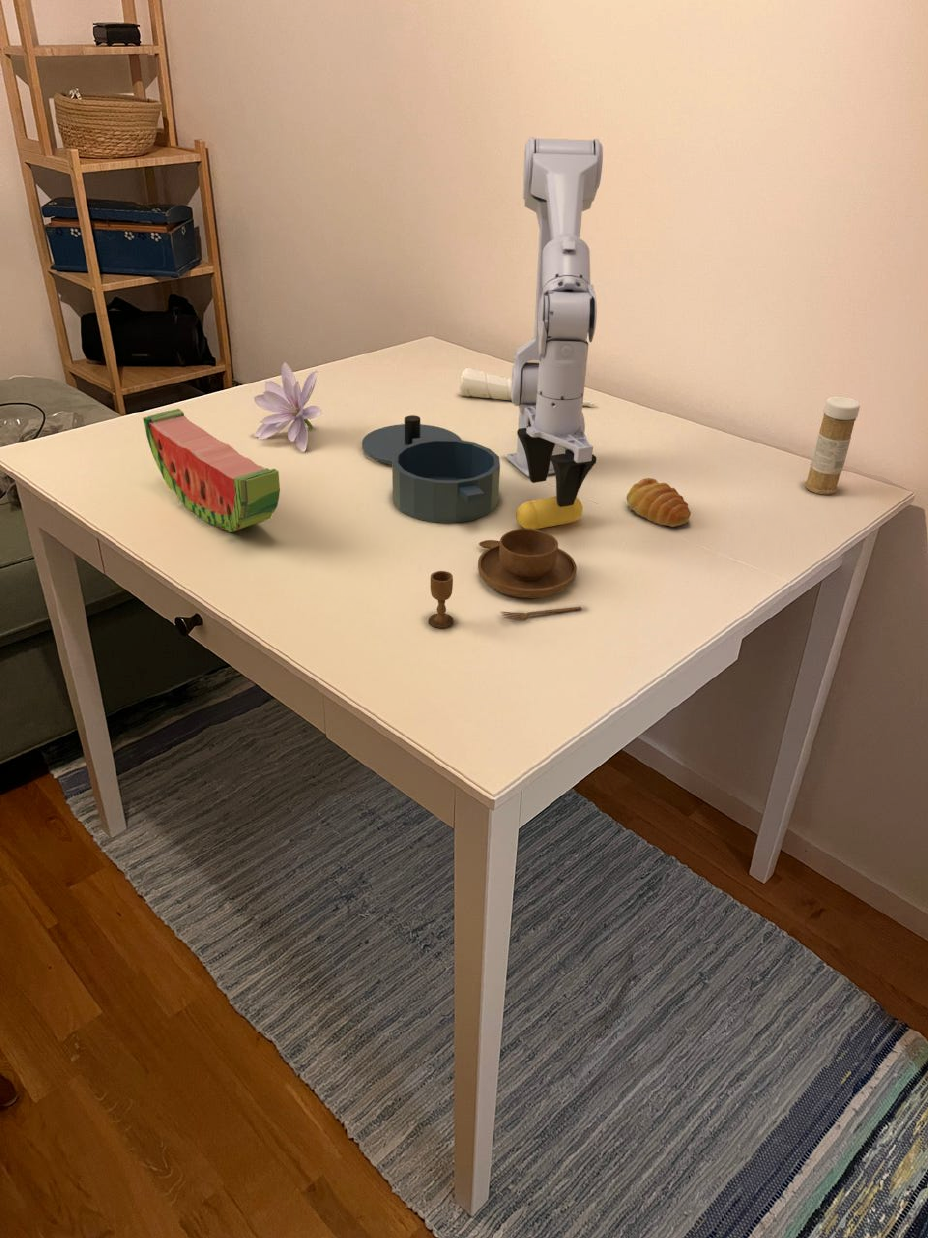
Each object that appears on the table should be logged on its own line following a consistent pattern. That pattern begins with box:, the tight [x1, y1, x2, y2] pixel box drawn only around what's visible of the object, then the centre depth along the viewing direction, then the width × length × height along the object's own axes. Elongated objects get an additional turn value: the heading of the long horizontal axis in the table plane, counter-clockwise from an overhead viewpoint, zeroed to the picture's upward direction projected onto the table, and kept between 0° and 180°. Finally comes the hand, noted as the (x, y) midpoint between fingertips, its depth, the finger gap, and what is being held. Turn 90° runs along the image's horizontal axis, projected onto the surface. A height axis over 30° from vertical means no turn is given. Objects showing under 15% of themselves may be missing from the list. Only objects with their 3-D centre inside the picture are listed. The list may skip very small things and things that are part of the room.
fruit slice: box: [142, 408, 281, 533], centre depth 123 cm, size 26×6×10 cm, turn 41°
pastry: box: [625, 477, 692, 528], centre depth 127 cm, size 9×7×4 cm
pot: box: [391, 437, 501, 524], centre depth 129 cm, size 15×20×6 cm
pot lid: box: [361, 414, 462, 465], centre depth 143 cm, size 16×16×5 cm
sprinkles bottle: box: [805, 395, 861, 495], centre depth 133 cm, size 5×5×13 cm
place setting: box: [428, 528, 583, 629], centre depth 110 cm, size 18×20×6 cm
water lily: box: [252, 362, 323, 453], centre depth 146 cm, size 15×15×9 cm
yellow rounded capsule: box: [516, 496, 583, 530], centre depth 124 cm, size 9×4×4 cm, turn 114°
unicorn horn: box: [459, 367, 595, 407], centre depth 162 cm, size 5×24×5 cm, turn 75°
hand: (551, 492), depth 122 cm, fingers open, 7 cm apart
